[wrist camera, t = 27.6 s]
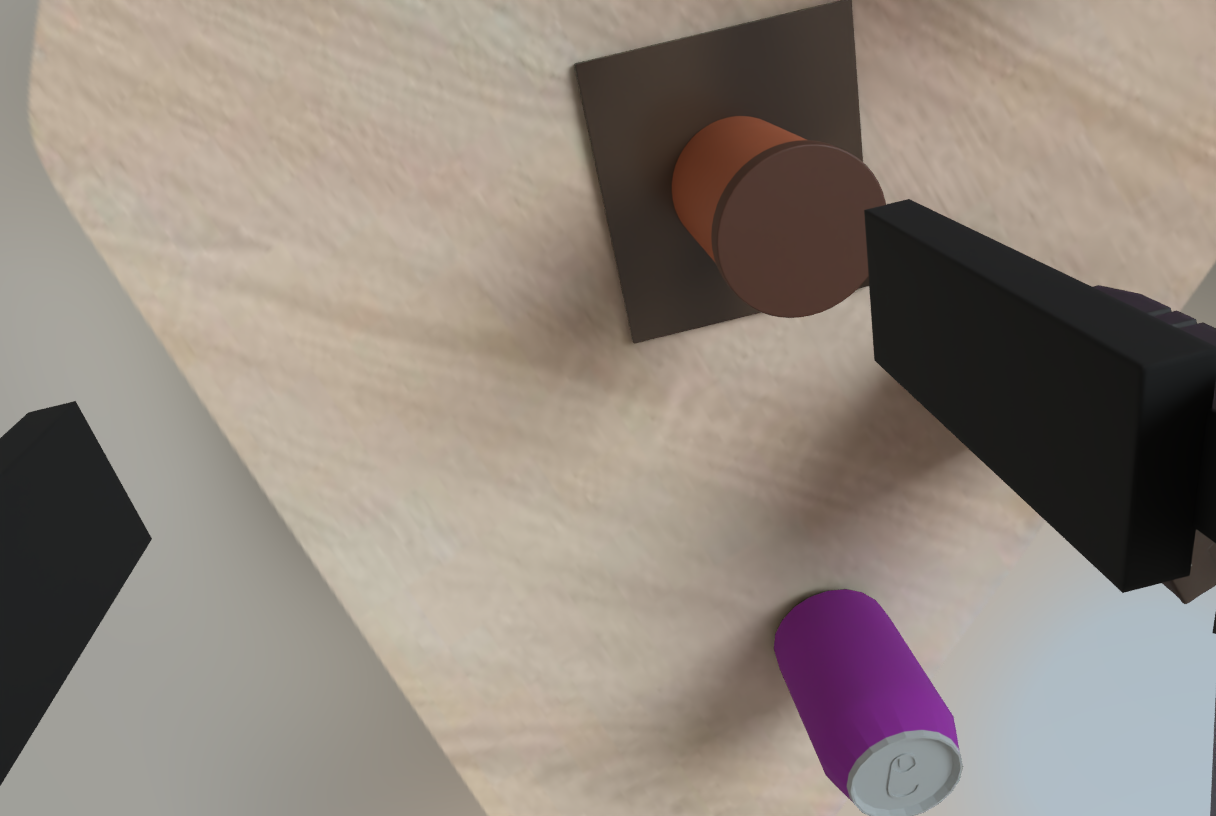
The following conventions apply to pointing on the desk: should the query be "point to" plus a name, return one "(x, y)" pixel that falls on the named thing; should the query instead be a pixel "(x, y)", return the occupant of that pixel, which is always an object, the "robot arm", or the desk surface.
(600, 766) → the desk surface
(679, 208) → the canister
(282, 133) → the desk surface
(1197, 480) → the robot arm
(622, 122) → the plate
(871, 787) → the beverage can
